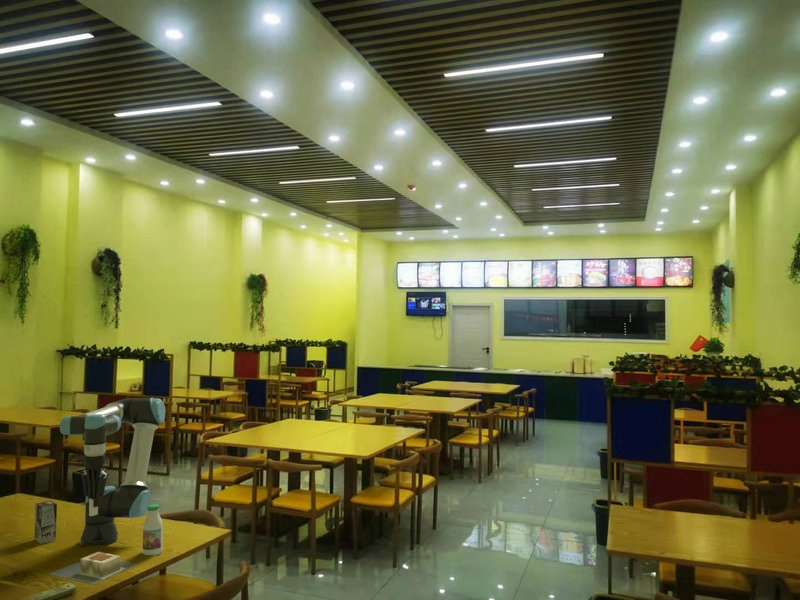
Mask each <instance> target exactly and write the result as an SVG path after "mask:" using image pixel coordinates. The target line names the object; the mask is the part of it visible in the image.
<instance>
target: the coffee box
mask: <svg viewBox="0 0 800 600" xmlns="http://www.w3.org/2000/svg"><path fill="white" fill-rule="evenodd" d="M34 505H35V508H34V511H35V512H34V540H35V541H37V542H38V543H39V544H46V543H50V542H54V541H56V539H57V538H56V537H57V513H58V512H57V511H58V504H57V503H56V502H54V501H52V500H46V501H41V502H37V503H36V502H35V504H34Z"/></svg>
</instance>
